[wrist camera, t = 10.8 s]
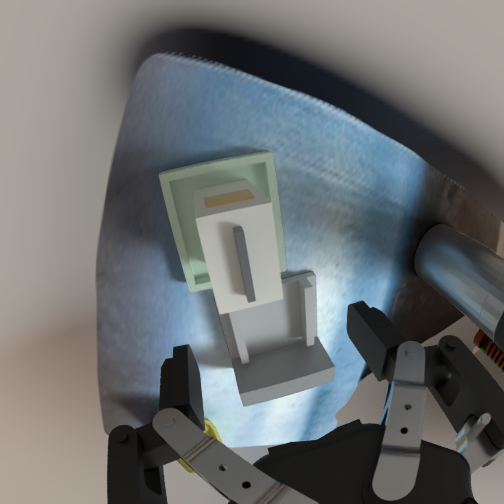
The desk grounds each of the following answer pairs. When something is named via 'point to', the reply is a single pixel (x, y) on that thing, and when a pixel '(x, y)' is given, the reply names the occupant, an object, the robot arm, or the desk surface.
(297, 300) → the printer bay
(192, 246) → the tray
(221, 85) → the desk surface
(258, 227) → the labeled white box
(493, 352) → the motor
